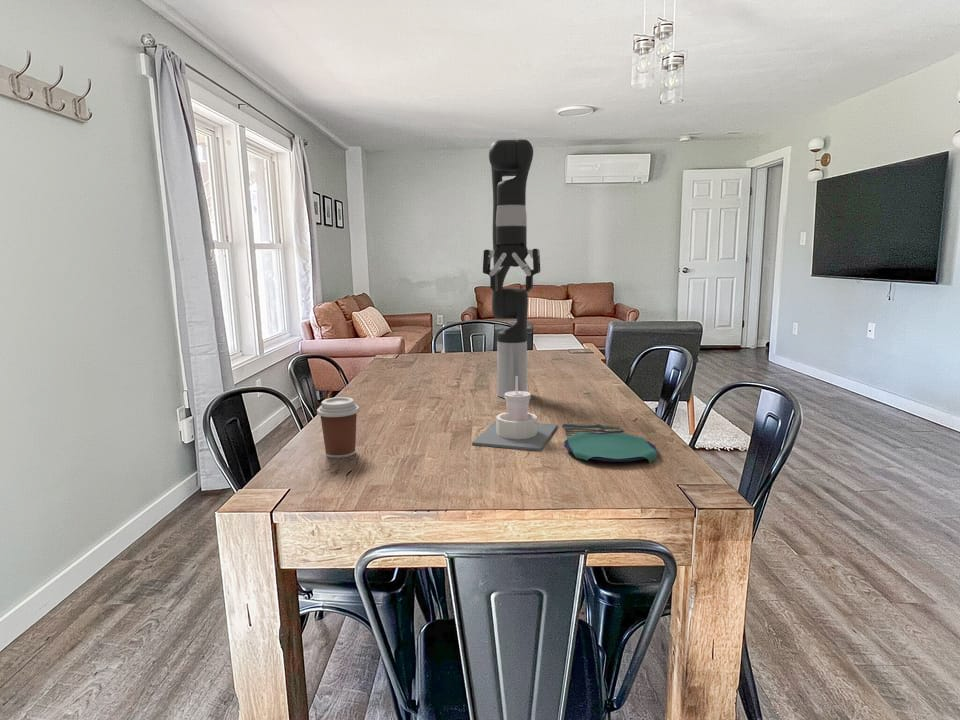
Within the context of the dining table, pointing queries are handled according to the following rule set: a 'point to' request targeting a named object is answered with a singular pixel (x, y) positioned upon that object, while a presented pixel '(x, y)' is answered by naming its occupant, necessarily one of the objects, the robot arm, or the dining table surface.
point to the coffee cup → (339, 426)
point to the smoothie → (517, 404)
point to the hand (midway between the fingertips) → (511, 291)
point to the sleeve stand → (516, 433)
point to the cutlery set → (607, 444)
